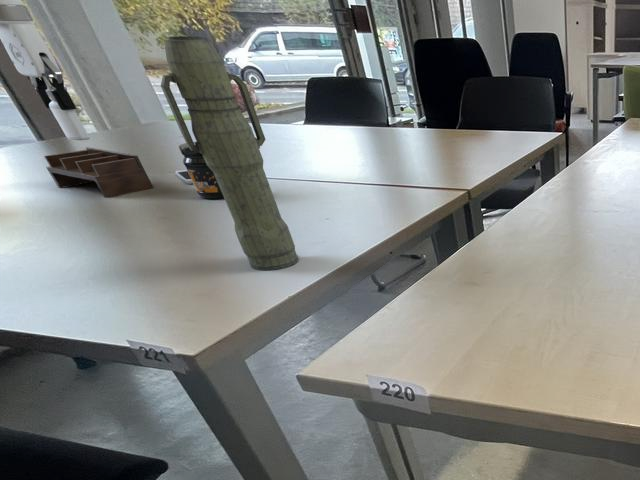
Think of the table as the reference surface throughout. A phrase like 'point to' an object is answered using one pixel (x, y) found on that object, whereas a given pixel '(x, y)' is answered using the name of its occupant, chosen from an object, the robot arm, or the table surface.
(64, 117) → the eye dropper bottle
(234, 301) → the table surface
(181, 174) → the smartphone
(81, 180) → the shelf
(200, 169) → the supplement container
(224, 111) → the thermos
